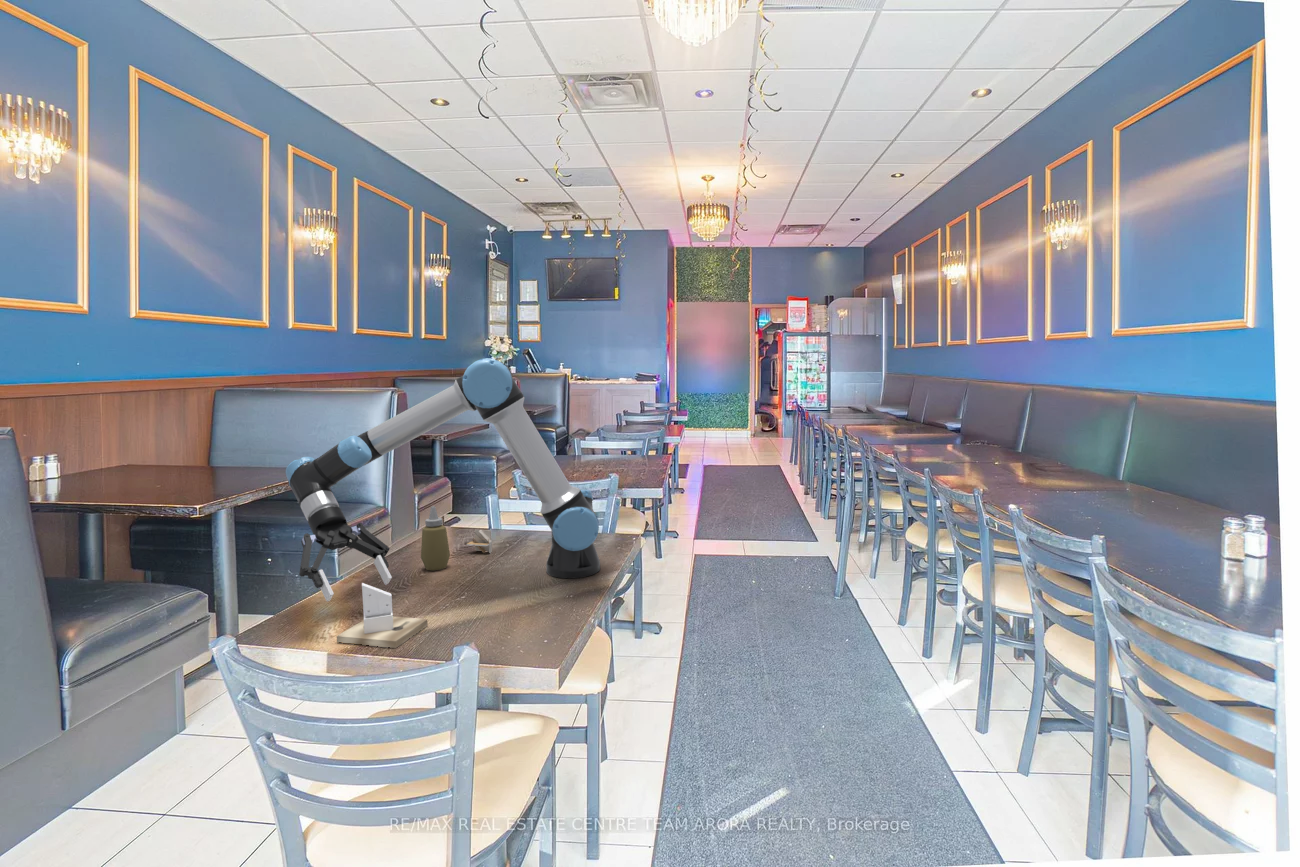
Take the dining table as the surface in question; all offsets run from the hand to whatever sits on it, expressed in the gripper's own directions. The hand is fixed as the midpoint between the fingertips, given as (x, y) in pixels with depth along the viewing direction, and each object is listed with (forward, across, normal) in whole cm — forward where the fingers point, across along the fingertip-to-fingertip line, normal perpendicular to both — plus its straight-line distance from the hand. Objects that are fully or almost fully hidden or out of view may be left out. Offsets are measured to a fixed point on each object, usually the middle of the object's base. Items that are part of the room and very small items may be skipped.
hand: (360, 589), depth 148 cm
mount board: (+12, 0, 0) cm, 12 cm away
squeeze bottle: (-10, -35, -22) cm, 43 cm away
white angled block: (+11, +1, +1) cm, 11 cm away
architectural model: (-12, -53, -24) cm, 59 cm away
